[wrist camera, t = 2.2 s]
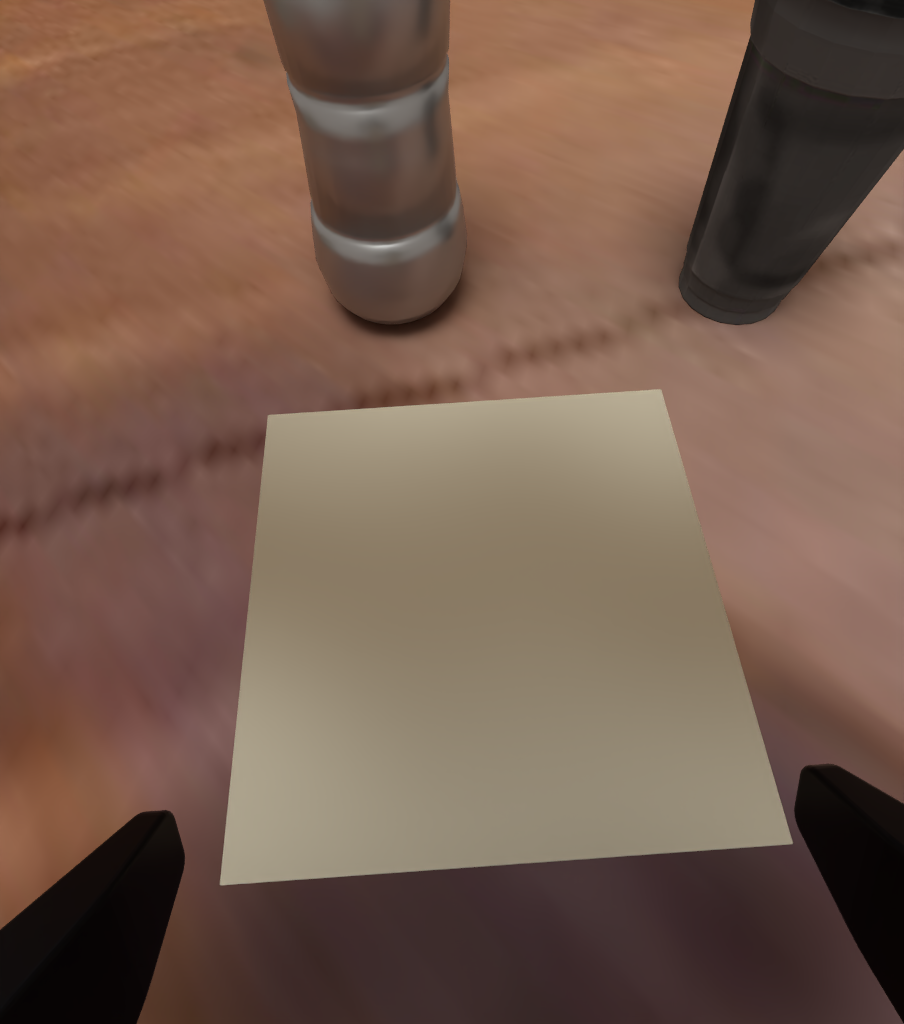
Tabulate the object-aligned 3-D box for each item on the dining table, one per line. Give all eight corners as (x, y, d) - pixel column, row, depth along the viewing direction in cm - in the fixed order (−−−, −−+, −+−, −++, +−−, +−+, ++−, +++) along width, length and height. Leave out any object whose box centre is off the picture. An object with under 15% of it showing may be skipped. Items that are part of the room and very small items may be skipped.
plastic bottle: (305, 328, 25) (-86, -799, 7) (360, 231, 28) (174, -752, 10) (441, 358, 24) (373, -856, 6) (484, 254, 27) (518, -785, 9)
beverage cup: (802, 367, 24) (1859, -967, 6) (631, 322, 25) (1052, -870, 7) (819, 255, 27) (1548, -851, 9) (666, 221, 28) (1023, -799, 10)
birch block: (563, 807, 16) (793, 844, 5) (393, 819, 16) (219, 885, 5) (540, 638, 19) (660, 389, 7) (391, 649, 19) (267, 415, 7)
